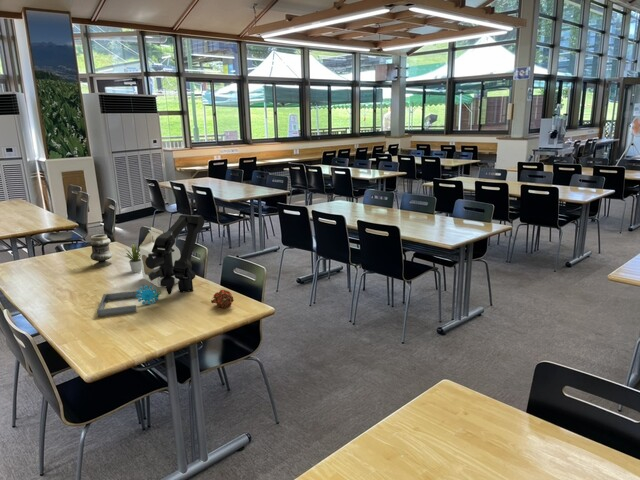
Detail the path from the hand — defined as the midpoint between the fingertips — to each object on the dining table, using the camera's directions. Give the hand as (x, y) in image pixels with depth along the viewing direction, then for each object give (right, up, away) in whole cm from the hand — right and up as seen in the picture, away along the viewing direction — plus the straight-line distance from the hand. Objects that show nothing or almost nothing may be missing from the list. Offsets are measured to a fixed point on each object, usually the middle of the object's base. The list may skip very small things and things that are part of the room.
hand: (169, 294), depth 221 cm
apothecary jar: (-60, +11, +60) cm, 85 cm away
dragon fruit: (+28, -4, -11) cm, 30 cm away
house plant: (-32, +8, +46) cm, 56 cm away
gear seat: (-20, -4, -8) cm, 22 cm away
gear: (-8, -4, -4) cm, 10 cm away
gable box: (-13, +4, +29) cm, 32 cm away
